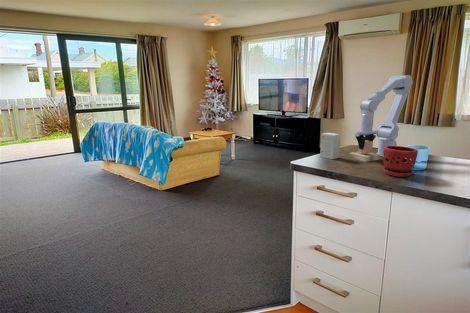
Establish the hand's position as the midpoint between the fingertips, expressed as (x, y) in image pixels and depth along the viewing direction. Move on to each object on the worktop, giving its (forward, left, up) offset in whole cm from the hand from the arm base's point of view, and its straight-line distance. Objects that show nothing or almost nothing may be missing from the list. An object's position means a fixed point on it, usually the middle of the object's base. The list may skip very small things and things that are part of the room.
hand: (364, 148), depth 165 cm
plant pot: (+11, +27, -6) cm, 30 cm away
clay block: (0, 0, -2) cm, 2 cm away
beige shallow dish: (0, 0, -6) cm, 6 cm away
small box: (+14, -11, -6) cm, 19 cm away
